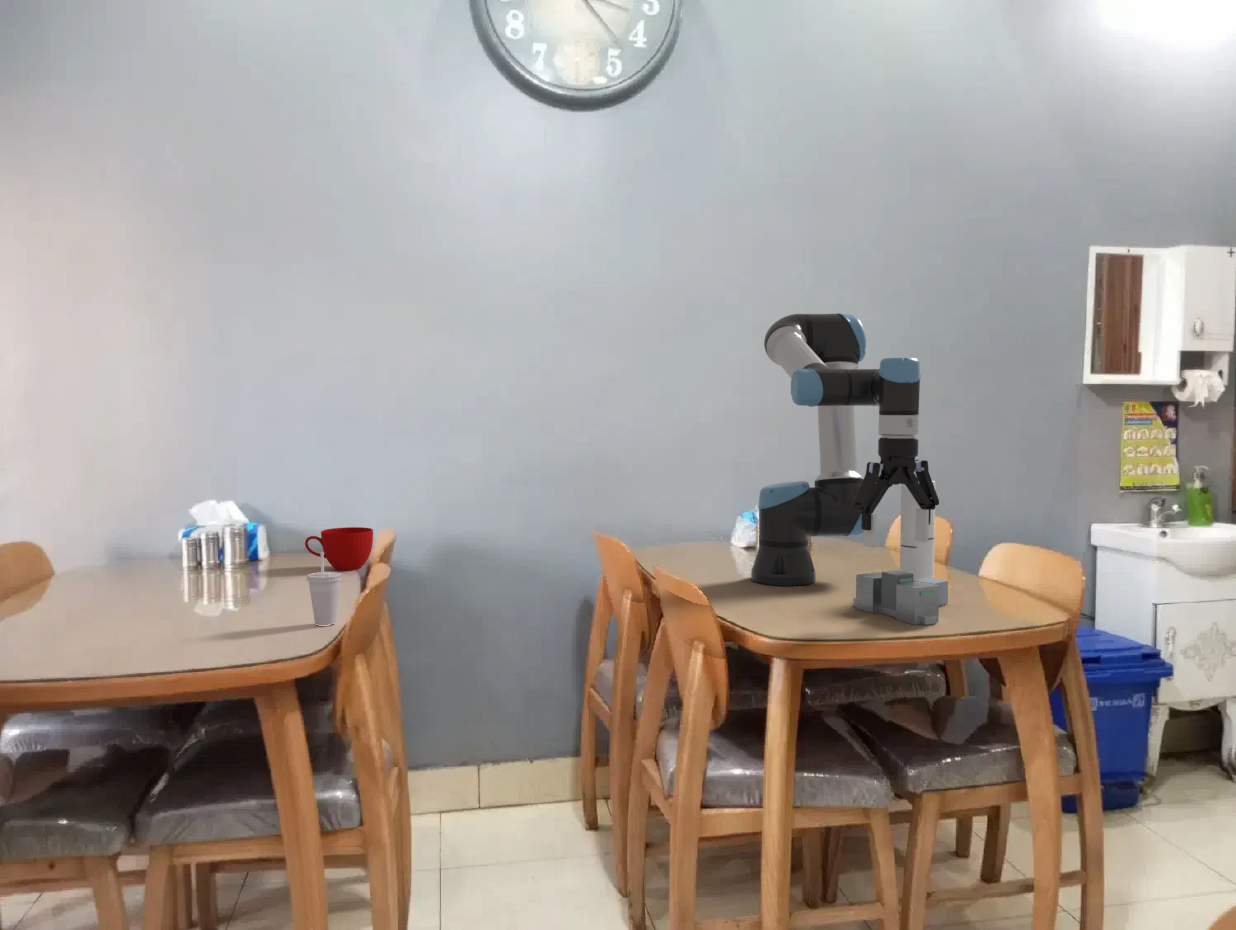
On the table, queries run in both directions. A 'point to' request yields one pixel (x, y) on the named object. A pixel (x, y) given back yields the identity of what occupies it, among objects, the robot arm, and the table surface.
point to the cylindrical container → (914, 553)
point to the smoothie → (324, 594)
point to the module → (892, 586)
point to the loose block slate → (942, 588)
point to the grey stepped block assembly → (899, 599)
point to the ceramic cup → (345, 547)
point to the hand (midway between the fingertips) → (896, 544)
